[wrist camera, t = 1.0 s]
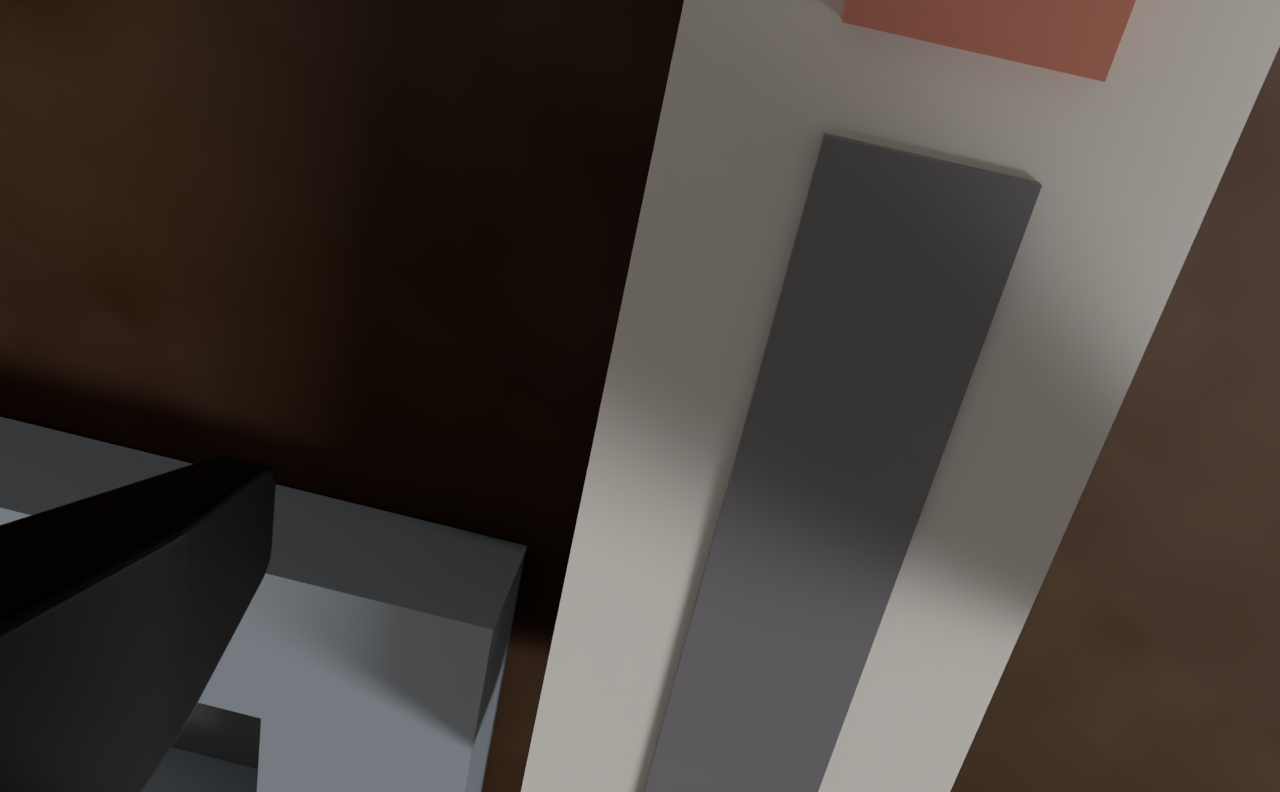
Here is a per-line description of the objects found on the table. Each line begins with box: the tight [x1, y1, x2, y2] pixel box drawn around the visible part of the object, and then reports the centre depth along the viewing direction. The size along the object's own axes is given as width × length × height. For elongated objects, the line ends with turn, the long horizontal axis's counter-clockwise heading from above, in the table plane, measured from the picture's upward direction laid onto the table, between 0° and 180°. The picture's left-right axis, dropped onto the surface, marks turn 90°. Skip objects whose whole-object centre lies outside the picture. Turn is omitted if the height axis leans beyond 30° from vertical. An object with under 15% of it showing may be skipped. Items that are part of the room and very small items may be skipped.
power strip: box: [521, 0, 1280, 792], centre depth 12 cm, size 13×4×5 cm, turn 169°
